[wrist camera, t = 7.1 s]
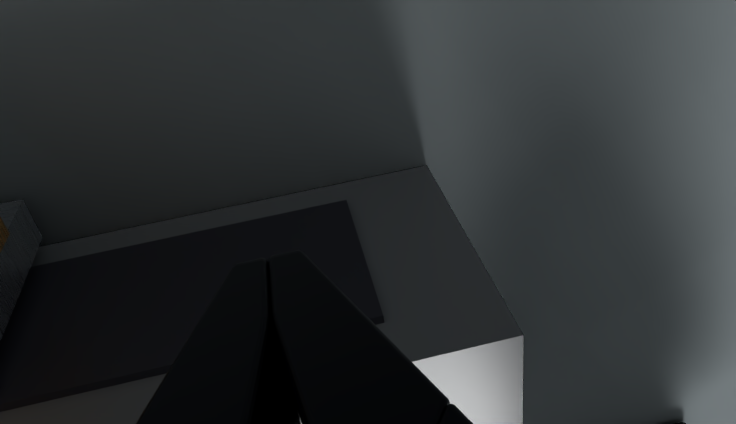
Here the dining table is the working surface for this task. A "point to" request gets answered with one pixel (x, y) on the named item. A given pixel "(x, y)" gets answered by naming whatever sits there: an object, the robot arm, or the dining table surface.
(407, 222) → the camera housing
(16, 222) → the orange and silver box
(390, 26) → the dining table surface
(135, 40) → the dining table surface
